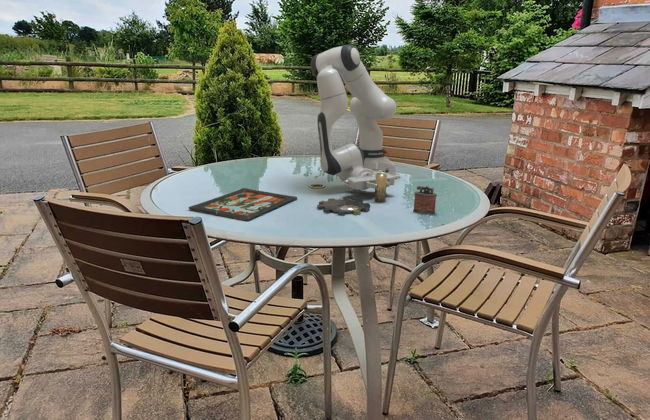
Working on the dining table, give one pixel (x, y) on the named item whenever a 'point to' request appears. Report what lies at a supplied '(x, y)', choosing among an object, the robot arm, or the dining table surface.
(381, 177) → the pin
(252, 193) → the painting
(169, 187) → the dining table surface
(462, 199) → the dining table surface
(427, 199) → the lighter
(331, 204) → the sprocket plate
